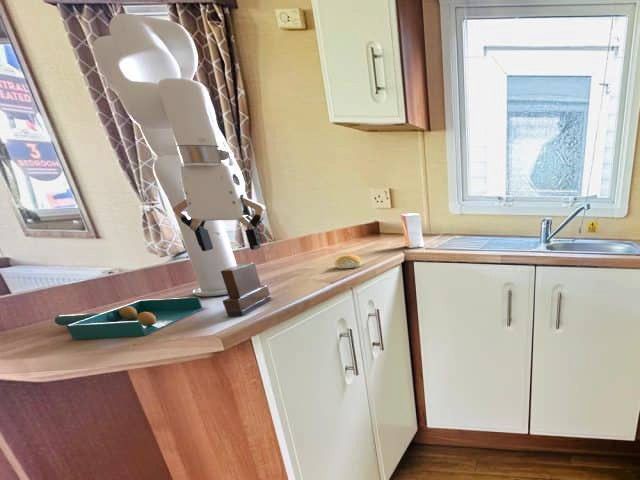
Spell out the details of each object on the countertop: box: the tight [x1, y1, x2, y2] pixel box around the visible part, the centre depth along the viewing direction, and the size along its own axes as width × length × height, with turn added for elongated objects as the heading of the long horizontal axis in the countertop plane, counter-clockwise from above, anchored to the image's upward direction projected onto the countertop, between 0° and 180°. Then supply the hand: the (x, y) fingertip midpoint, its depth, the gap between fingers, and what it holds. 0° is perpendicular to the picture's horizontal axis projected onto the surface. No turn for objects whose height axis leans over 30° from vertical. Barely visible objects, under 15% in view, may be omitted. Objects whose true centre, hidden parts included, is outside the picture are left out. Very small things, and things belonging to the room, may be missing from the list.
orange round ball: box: [119, 305, 138, 320], centre depth 87 cm, size 3×3×3 cm
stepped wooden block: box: [221, 261, 272, 318], centre depth 92 cm, size 14×3×9 cm, turn 5°
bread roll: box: [334, 253, 363, 270], centre depth 139 cm, size 8×9×4 cm
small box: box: [400, 213, 425, 249], centre depth 179 cm, size 8×6×13 cm
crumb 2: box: [137, 312, 156, 326], centre depth 82 cm, size 3×3×3 cm
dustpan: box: [53, 296, 203, 341], centre depth 85 cm, size 22×19×3 cm
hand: (231, 249), depth 89 cm, fingers open, 9 cm apart
